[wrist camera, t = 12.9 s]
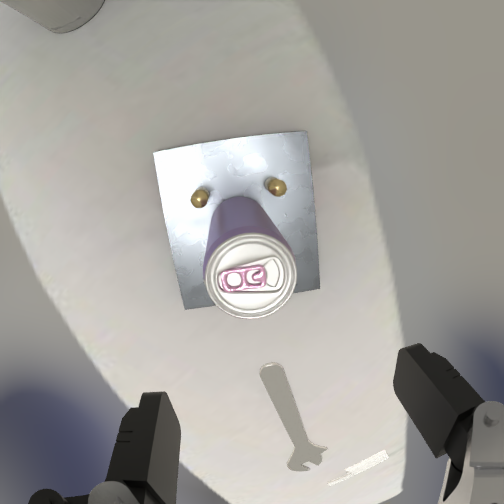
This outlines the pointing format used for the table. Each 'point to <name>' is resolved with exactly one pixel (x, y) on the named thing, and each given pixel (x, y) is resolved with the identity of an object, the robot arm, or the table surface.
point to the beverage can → (247, 261)
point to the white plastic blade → (362, 466)
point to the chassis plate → (237, 185)
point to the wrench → (290, 417)
